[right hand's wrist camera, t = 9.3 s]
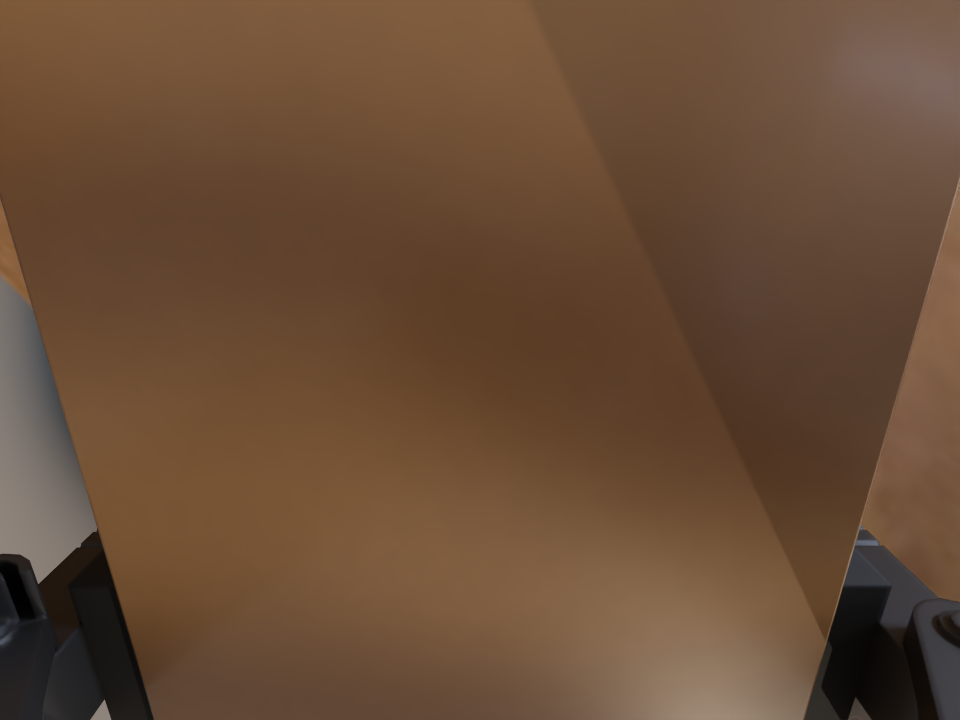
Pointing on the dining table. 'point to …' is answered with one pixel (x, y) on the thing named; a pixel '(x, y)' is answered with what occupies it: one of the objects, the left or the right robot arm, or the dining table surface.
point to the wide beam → (478, 335)
